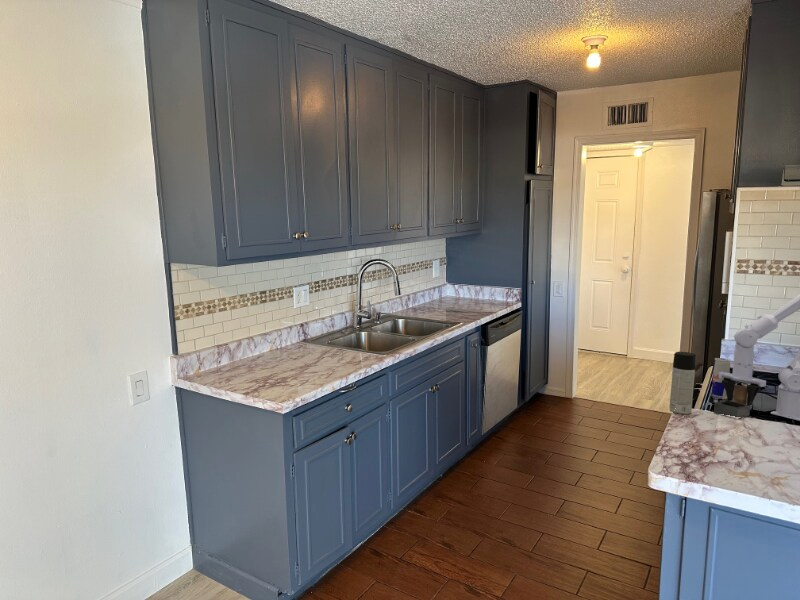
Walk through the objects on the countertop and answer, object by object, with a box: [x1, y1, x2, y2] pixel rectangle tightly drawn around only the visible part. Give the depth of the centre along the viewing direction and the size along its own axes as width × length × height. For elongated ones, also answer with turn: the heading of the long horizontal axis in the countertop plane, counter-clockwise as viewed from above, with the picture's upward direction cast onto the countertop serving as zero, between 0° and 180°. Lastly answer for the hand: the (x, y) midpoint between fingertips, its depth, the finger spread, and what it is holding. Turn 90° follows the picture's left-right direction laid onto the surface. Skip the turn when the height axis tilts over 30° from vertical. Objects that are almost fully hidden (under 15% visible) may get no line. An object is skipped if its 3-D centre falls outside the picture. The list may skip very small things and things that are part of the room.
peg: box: [732, 384, 748, 405], centre depth 192 cm, size 4×4×8 cm
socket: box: [713, 399, 751, 418], centre depth 186 cm, size 8×8×4 cm
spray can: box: [669, 351, 697, 415], centre depth 187 cm, size 7×7×20 cm
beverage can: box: [711, 357, 731, 400], centre depth 206 cm, size 5×5×15 cm
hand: (739, 402), depth 193 cm, fingers open, 6 cm apart
